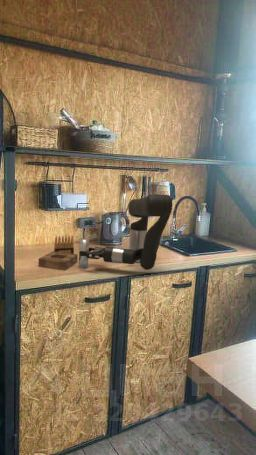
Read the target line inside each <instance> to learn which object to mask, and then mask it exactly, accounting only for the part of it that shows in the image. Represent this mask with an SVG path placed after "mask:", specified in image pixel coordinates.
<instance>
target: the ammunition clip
mask: <svg viewBox="0 0 256 455" xmlns="http://www.w3.org/2000/svg"><path fill="white" fill-rule="evenodd" d="M74 244H75V243H74V235H73V234H72V235H70V234H69V235H68V236H67V235H65V237H64V235H62V236H61V235H59V236H57V234H56V235H55V239H54V244H53V245H54V248H53V251H54V252H62V253H71V254H75V248H74V246H75V245H74Z"/></svg>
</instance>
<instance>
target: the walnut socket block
mask: <svg viewBox="0 0 256 455" xmlns="http://www.w3.org/2000/svg"><path fill="white" fill-rule="evenodd" d="M78 262H79V253H74V254H71V253H62V252H54V250H52V251H51V252H48V253H45V255H43V256H41V257H39V258H38V267H39V268H45V269H52V270H53V269H54V270H62V271H67V270H68V269H69V268H71V267H72V266H74V265H75V264H77V263H78Z"/></svg>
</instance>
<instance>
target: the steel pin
mask: <svg viewBox="0 0 256 455" xmlns="http://www.w3.org/2000/svg"><path fill="white" fill-rule="evenodd" d="M89 248H90V239H89V238H79V248H78V250H79V251H78V253H79V252H80V251H86V252H89ZM78 269H82V270H83V269H89V258H87V256H80V255H79V254H78Z"/></svg>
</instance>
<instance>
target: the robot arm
mask: <svg viewBox="0 0 256 455" xmlns="http://www.w3.org/2000/svg"><path fill="white" fill-rule="evenodd" d="M127 207H128V208H127V210H128V214H129V215H130V216H131V217H133V218H134V217H136V218H138V217H139V218H140V219H139V220H136V221H132V222H131V223H130V225H129V240H128V248H122V247H117V246H116V247H115V246H109V245H108V246H107V245H106V246H105V247H100V246H95V247H89V252H86V251H80V252H79V251H78V256H79V255H80V256H87V258H88V259H91V260H92V259H93V260H99V259H101V258H103V262H105V263H111V264H127V265H134V264H135V263H139V264H140V267H141V268H142V269H144V270H146V271H149V270H151V269H153V268H154V266H155V263H156V260H157V253H158V250H159V247H160V243H161V238H162V235H163V232H164V230H165V229H166V226H167V223H168V221H169V219H170V216H171V214H172V212H173V211H172V210H173V199H172V197H171V195H169V194H157V193H156V194H154V193H152V194H149V195H147V196H145V197H144V196H143V197H141V198H137V199H135V198H133V199H131V200H130V201H129V203H128V206H127ZM149 217H159V218H158V219H157V220H156V222H155V223H154V224H153V225H152V226H150V227H149V228H148V225H149Z"/></svg>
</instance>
